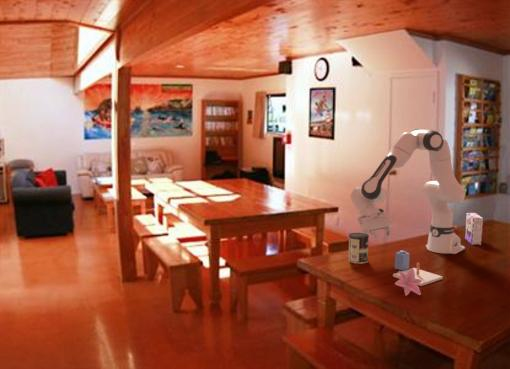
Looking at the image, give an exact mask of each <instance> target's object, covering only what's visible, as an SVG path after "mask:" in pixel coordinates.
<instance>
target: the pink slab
mask: <svg viewBox="0 0 510 369" xmlns="http://www.w3.org/2000/svg"><path fill="white" fill-rule="evenodd" d="M420 265H421V264H420V262H417V263H416V267H412V268H413V269H414V272H415V278H416V279H419V280H421V281H422V282H421V283H419V284H418V285H417V286H418V287H419V286H420V287H423V286H425V285H428V284H432V283H436V282H438V281H440V280H443V276H441V275H439V274H435V273H433V272H429V271H426V270H423V269H421V268H420V267H421V266H420ZM410 269H411V268H409V269H407V270H404V271H402V270H401V272H403V273H405V274H407V273H408V272H409V270H410ZM392 277H394V278H396V279H398V280H400V279H402V278H401V276H400V274H399V271H398V272H396V273H393V274H392Z"/></svg>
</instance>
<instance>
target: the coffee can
mask: <svg viewBox="0 0 510 369" xmlns="http://www.w3.org/2000/svg"><path fill="white" fill-rule="evenodd" d="M369 237H370V235H369V234H368V233H364V232H351V233H349V234H348V262H349V263H352V264H359V265H360V264H366V263H369Z"/></svg>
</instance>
